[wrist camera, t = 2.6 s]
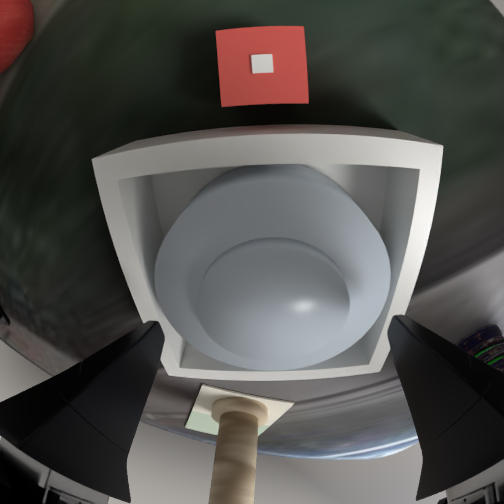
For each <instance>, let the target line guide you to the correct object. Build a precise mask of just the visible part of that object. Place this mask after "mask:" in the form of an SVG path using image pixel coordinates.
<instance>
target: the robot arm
mask: <svg viewBox="0 0 504 504" xmlns="http://www.w3.org/2000/svg"><path fill="white" fill-rule="evenodd" d="M0 324H3V325H6V326H9V325H10V322H9V320H8V318H7V317H6V315H5V314H4V312H3V310H2V309H1V307H0ZM387 336H388V340H389V344H390V348H391V352H392V357H393V361H394V364H395V368H396V370H397V373H398V376H399V379H400V382H401V385H402V387H403V390H404V393H405V396H406V399H407V402H408V406H409V409H410V412H411V415H412V418H413V422H414V425H415V429H416V432H417V436H418V439H419V443H420V446H421V450H422V455H423V464H422V471H421V476H420V482H419V486H418V491H417V496H416V501H418V500H421V499H423V498H426V497H429V496H432V495H434V494H437V493H439V492H442V491H444V490H446V494H447V497H446V498H443V499H441V500H439V502H438V504H504V372H503V371H501V370H499V369H497V368H495V367H493V366H491V365H489V364H487V363H485V362H483V361H482V360H480V359H478V358H476V357H475V356H473V355H471V354H470V353H469V354H468V353H467V352H466V351H464V350H462V349H461V348H459V347H457V346H456V345H454V344H452V343H451V342H449V341H447V340H446V339H444V338H442V337H441V336H439V335H437V334H435V333H434V332H432V331H430V330H429V329H427V328H425V327H423V326H422V325H420V324H418V323H417V322H415V321H413V320H411V319H410V318H408V317H406V316H404V315H402V314H400V315H394V316H393V317H392V319H391V322H390V324H389V327H388V330H387ZM164 342H165V335H164V332H163V330H162V327H161V325H160V323H159V321H154V320H149V321H147V322H145V323H144V324H142V325H141V326H139V327H137V328H136V329H134V330H132V331H131V332H129V333H127V334H126V335H124V336H122V337H121V338H119V339H117V340H116V341H114V342H113V343H111V344H109V345H108V346H106V347H104V348H103V349H101V350H99V351H98V352H96V353H94V354H93V355H91V356H89V357H88V358H86V359H84V360H83V361H82V362H79V363H77V364H76V365H74V366H72V367H71V368H69V369H67V370H65V371H63V372H62V373H60V374H58V375H56V376H54V377H52V378H50V379H48V380H46V381H44V382H42V383H40V384H37V385H35V386H33V387H32V388H29V389H27V390H25V391H23V392H21V393H19V394H17V395H15V396H13V397H10V398H8V399H6V400H4V401H2V402H0V436H2V437H1V440H0V504H107V503H108V499H109V496H110V497H113V498H116V499H119V500H122V501H125V502H128V503H130V502H131V498H130V491H129V484H128V475H127V457H128V454H129V451H130V448H131V444H132V442H133V438H134V436H135V433H136V430H137V427H138V424H139V421H140V418H141V415H142V412H143V409H144V406H145V404H146V401H147V398H148V395H149V392H150V390H151V387H152V384H153V381H154V379H155V376H156V373H157V370H158V367H159V363H160V359H161V354H162V350H163V346H164Z"/></svg>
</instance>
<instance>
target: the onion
mask: <svg viewBox="0 0 504 504" xmlns="http://www.w3.org/2000/svg"><path fill="white" fill-rule="evenodd" d="M33 35H34V14H33V5H32V3H31V1H30V0H0V73H2V72H3V71H4V70H6V69H7V68H8V67H10V66H11V65H12V63H13V62H14V61H15V60H16V58H17V57H18V56H19V55H20V54H21V52H22V51H23V50H24V48H25V46H26V45H27V44H28V43H29V42H30V41H31V39H32V37H33Z"/></svg>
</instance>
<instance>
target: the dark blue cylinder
mask: <svg viewBox="0 0 504 504" xmlns="http://www.w3.org/2000/svg"><path fill="white" fill-rule="evenodd" d="M456 346H457V347H459V348H461V349H462V350H464V351H466V352H467V353H468V354H469V353H470V354H471V355H473V356H475V357H476V358H478V359H480V360H482V361H483V362H485V363H487V364H489V365H491V366H493V367H495V368H497V369H499V370H501V371H503V372H504V337H503V336H502V332H501V330H500V329H499V327H498V326H496V325H489V326H485V327H483V328H480V329H478V330H476V331H474V332H473V333H471V334H469V335H468V336H466V337H465V338H463V339H462V340H461V341H459V342H458V343H457V344H456Z"/></svg>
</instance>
